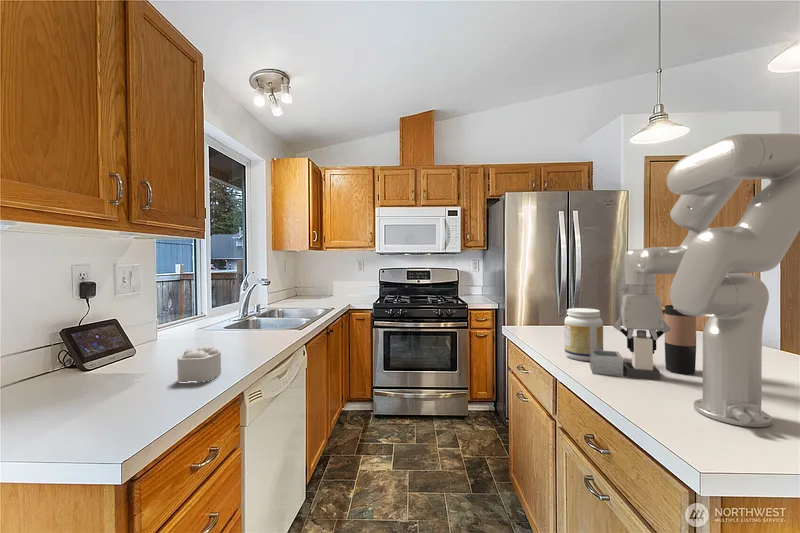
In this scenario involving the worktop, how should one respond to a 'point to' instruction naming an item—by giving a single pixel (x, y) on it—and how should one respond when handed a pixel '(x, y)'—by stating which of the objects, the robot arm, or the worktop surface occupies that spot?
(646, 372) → the dark grey tray
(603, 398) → the worktop surface
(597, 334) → the supplement tub
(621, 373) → the port
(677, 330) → the travel mug
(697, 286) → the robot arm
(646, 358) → the plug
